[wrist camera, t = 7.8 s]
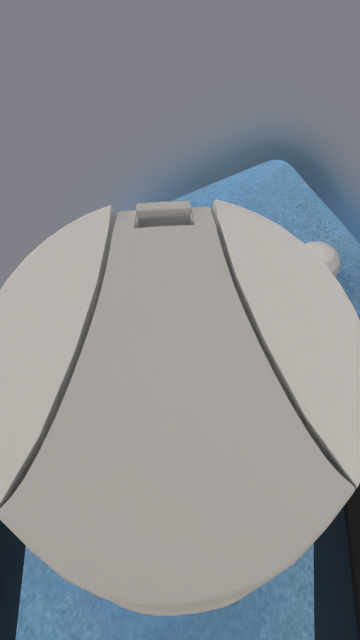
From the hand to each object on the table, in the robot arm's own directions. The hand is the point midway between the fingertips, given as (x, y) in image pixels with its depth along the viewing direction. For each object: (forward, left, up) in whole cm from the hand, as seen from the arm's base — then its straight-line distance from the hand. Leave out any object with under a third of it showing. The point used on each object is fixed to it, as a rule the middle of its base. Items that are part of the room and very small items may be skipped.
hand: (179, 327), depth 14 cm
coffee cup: (+1, -3, -6) cm, 7 cm away
